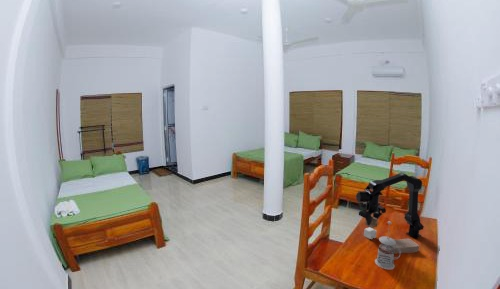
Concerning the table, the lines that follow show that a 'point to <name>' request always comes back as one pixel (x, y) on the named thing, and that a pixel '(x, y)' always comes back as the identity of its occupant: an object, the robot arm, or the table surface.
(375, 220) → the walnut cube
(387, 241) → the french press
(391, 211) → the table surface
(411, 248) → the brick
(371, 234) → the white cube
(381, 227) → the table surface
